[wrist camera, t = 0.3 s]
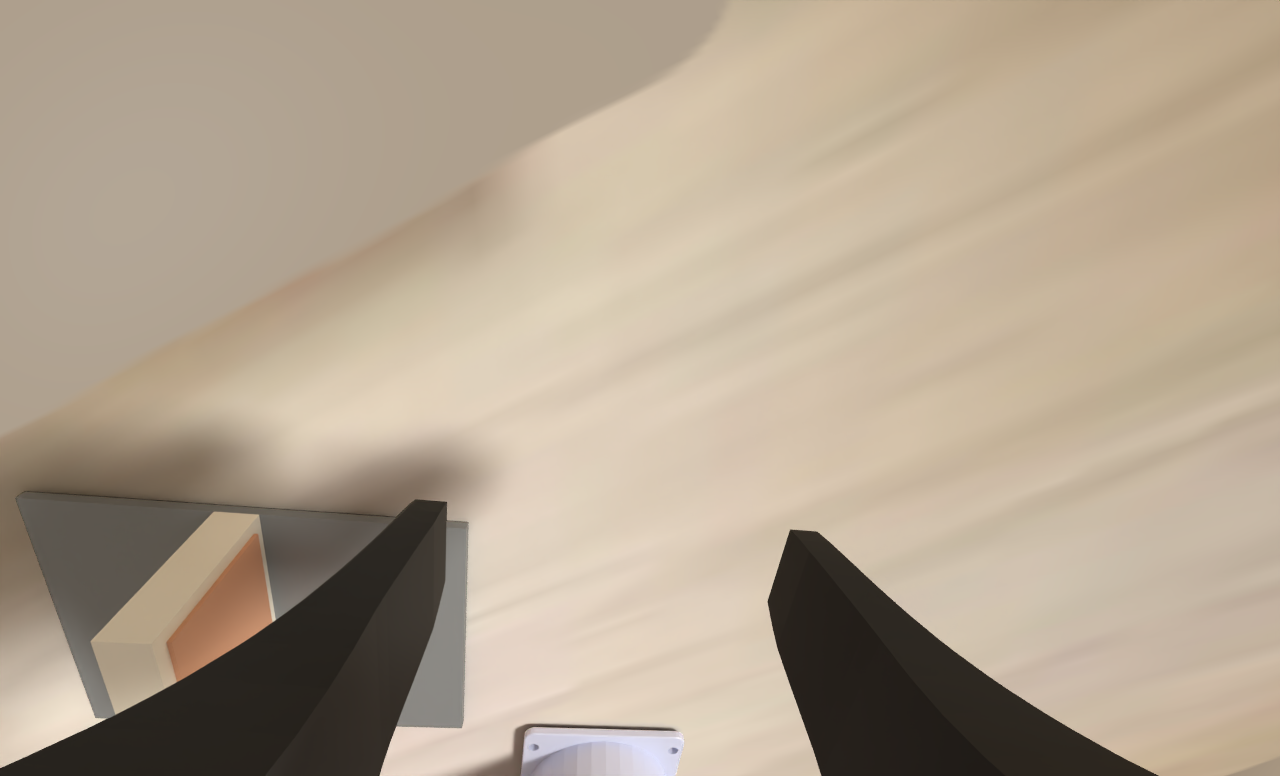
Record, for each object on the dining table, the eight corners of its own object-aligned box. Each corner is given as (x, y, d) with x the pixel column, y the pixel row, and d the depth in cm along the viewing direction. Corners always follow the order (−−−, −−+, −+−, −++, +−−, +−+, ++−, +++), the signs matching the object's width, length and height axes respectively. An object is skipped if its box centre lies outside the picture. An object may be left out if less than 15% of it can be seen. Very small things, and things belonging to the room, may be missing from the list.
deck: (286, 663, 26) (203, 810, 20) (243, 661, 25) (148, 810, 20) (263, 514, 22) (157, 644, 17) (213, 511, 22) (90, 641, 17)
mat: (463, 720, 29) (461, 728, 28) (102, 709, 27) (95, 718, 26) (468, 522, 24) (466, 528, 23) (24, 491, 22) (14, 497, 21)
